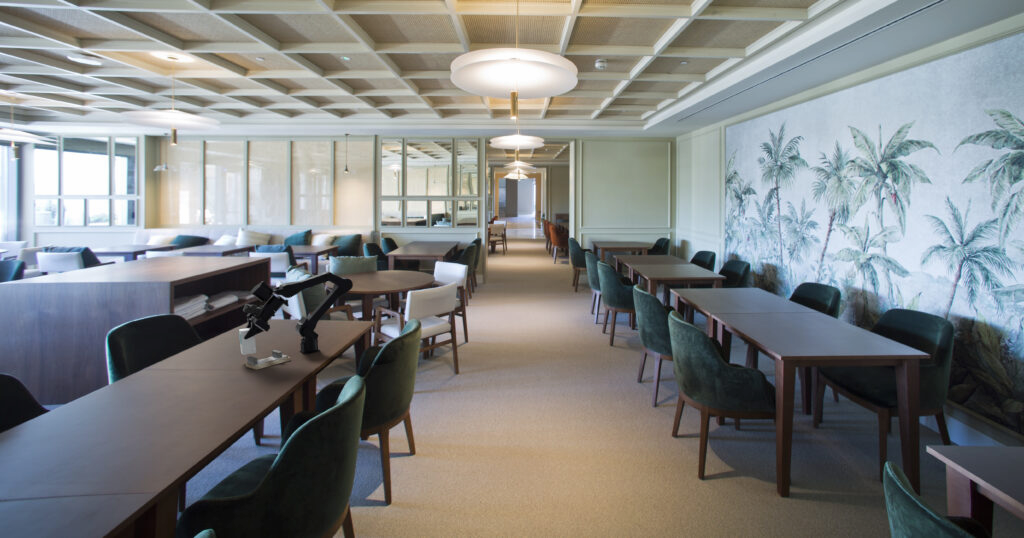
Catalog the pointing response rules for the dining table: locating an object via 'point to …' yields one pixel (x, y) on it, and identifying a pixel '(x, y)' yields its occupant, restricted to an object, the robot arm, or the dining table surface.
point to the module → (246, 342)
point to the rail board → (267, 360)
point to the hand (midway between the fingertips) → (243, 337)
